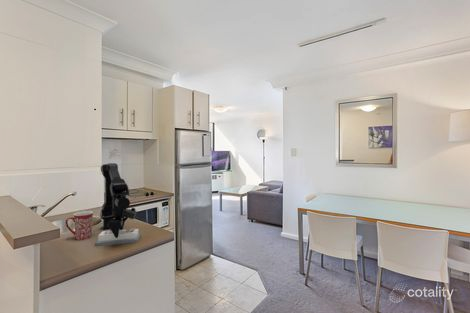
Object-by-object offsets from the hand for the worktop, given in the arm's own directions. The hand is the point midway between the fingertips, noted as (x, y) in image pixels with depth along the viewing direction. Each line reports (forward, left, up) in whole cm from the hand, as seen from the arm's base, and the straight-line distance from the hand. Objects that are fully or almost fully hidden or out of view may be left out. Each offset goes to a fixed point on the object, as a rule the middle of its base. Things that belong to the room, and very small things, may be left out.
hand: (119, 234), depth 120 cm
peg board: (0, 0, -3) cm, 3 cm away
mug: (-9, -22, -3) cm, 24 cm away
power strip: (0, 0, -2) cm, 2 cm away
